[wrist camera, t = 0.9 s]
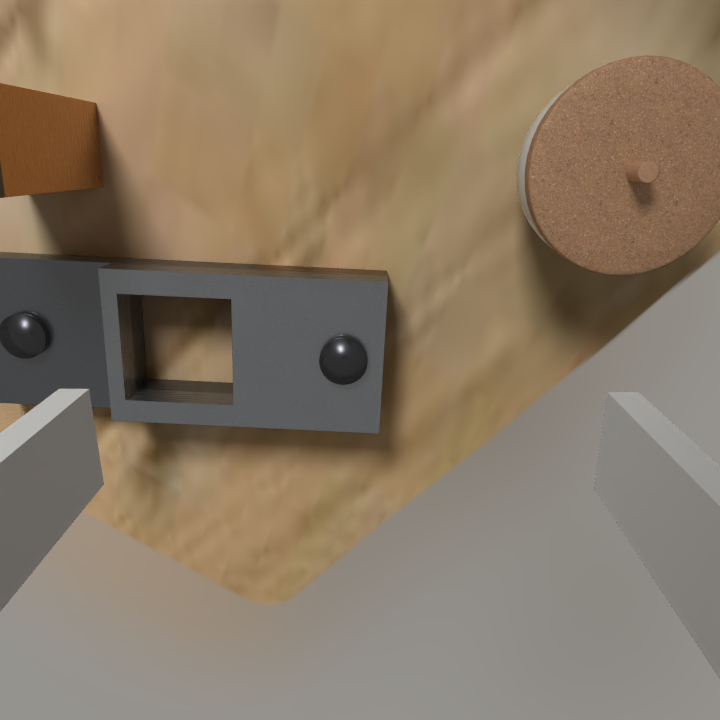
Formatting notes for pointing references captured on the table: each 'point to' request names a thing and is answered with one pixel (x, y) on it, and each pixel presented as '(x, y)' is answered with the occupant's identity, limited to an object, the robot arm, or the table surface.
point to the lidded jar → (625, 166)
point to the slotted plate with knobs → (249, 340)
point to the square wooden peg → (47, 143)
